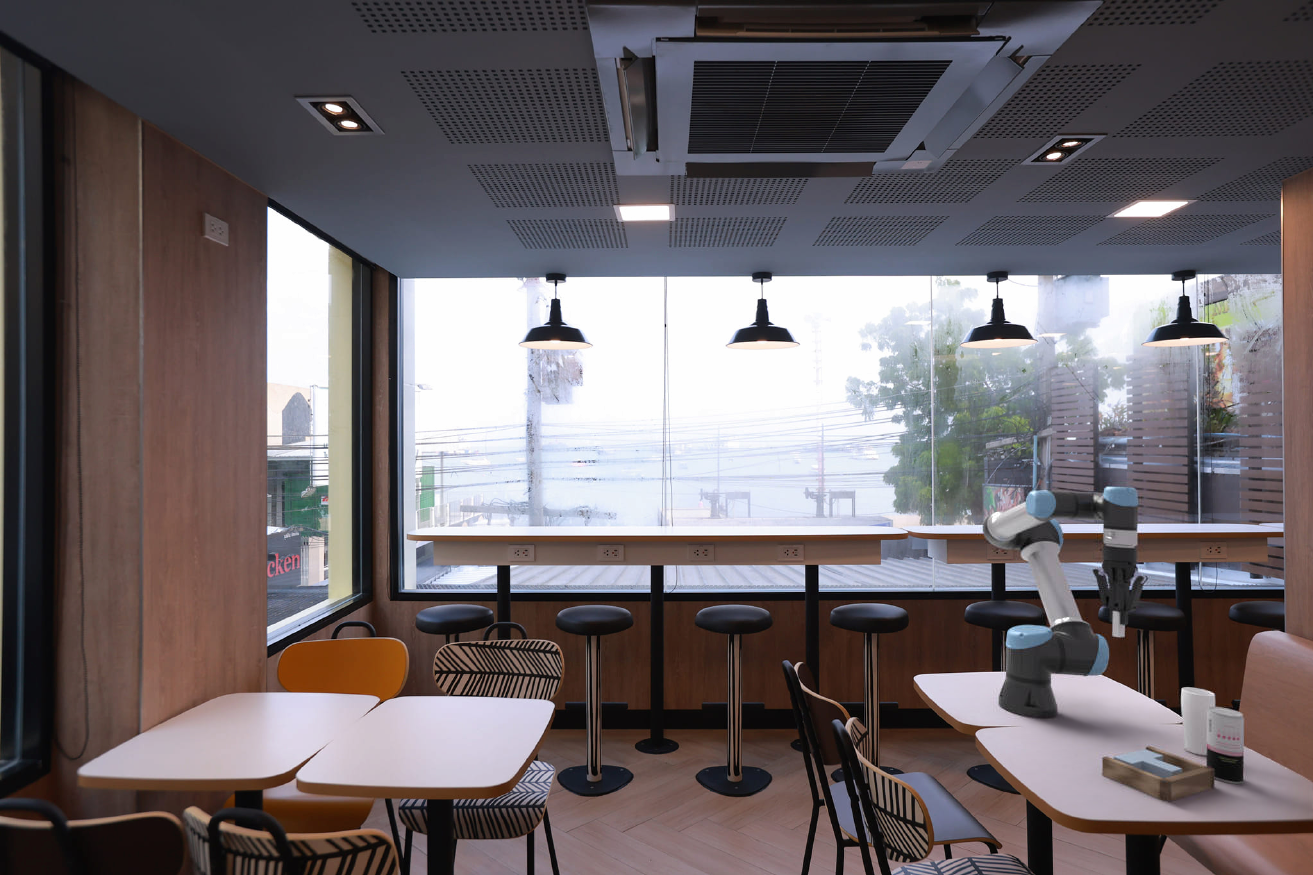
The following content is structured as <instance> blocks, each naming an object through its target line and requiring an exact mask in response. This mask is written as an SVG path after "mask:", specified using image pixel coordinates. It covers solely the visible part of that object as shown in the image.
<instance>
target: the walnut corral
mask: <svg viewBox="0 0 1313 875" xmlns="http://www.w3.org/2000/svg"><path fill="white" fill-rule="evenodd" d="M1145 750H1148V751H1151V752H1154V753H1157V754H1160V755H1163V762H1165V763H1168V764H1171V765H1174V766H1176V767H1179V768H1182V774H1178V775H1174V776H1171V777H1167V778H1161V777H1159V776H1156V775H1154V774H1151V773H1148V772H1146V771H1143V770H1141V769H1138V768H1136V767H1133V766H1130V765H1128V764H1125V763H1123V762H1120V761H1118V760H1115V759H1114V758H1112V757H1110V756H1102V767H1101V768H1102V770H1101V771H1102V772H1101V774H1102V776H1103V777H1106V778H1109V779H1110V780H1113V781H1116V782H1117V783H1121V784H1122V785H1126V786H1127V787H1130V788H1132V789H1135V790H1138V791H1140V792H1142V793H1144V794H1147V795H1149V796H1152V797H1155V798H1156V799H1159V800H1162V801H1164V802H1165V803H1169V802H1172V801H1175V800H1178V799H1181V798H1185V797H1188V796H1192V795H1195V794H1197V793H1202V792H1205V791H1207V790H1211V789H1214V788H1215V778H1214V775H1215V769H1212V768H1210V767H1207V765H1204V764H1201V763H1197V762H1196V761H1193V760H1189V759H1188V758H1184V757H1181V756H1179V755H1175V754H1173V753H1170V752H1167V751H1165V750H1161V749H1159V748H1156V747H1153V746H1150V745H1148V746H1145Z"/></svg>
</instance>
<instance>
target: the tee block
mask: <svg viewBox="0 0 1313 875" xmlns="http://www.w3.org/2000/svg"><path fill="white" fill-rule="evenodd" d="M1113 759H1115V760H1118V761H1120V762H1123V763H1125V764H1128V765H1130V766H1133V767H1136V768H1138V769H1141V770H1143V771H1146V772H1148V773H1151V774H1154V775H1156V776H1159V777H1161V778H1167V777H1171V776H1174V775H1178V774H1182V768H1179V767H1176V766H1174V765H1171V764H1168V763H1165V762H1163V755H1160V754H1157V753H1154V752H1151V751H1148V750H1146V748H1144V749H1141V750H1136V751H1132V752H1127V753H1124V754H1119V755H1116V756H1113Z"/></svg>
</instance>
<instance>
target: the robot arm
mask: <svg viewBox="0 0 1313 875" xmlns="http://www.w3.org/2000/svg"><path fill="white" fill-rule="evenodd" d="M1103 489H1104V490H1103V492H1097V491H1093V492H1092V491H1087V492H1083V491H1062V490H1061V491H1057V490H1046V489H1042V490H1031V491H1030V492H1028V494H1027V496H1026V498H1025V501H1024V502H1022V503H1020V504H1018V505H1016V506H1014V507H1011V508H1010V509H1008V510H1005V511H997V512H994V513H992V514H990V515H988V516H987V517H986V518H985V520H984V521H983V523H982V533H983V536H984V538H985V539H986V540H987V541H988V542H989V543H990V545H993V546H995V547H996V548H1000V549H1003V550H1012V551H1013V550H1016V551H1017V550H1018V552H1019V553H1020V557H1021V558H1022V560H1024V561H1026V562H1028V565H1029V568H1030V571H1031V573H1032V576H1033V578H1034V581H1035V584H1036V588H1037V591H1038V594H1039V597H1040V600H1041V603H1042V605H1043V608H1044V611H1045V613H1046V616H1047V620H1048V623H1049V625H1050V626H1049V627H1047V626H1045V625H1035V624H1022V625H1016V626H1013V627H1011V628H1009V629H1008V630H1007V633H1006V641H1005V647H1006V648H1005V680H1004V682H1003V683H1002V684H1003V685H1002V686H1001V689H1000V693H999V694H998V706H1000V707H1001V708H1002V709H1004V710H1006V711H1009V712H1011V713H1013V714H1017V715H1021V716H1026V717H1032V718H1054V717H1057V715H1058V713H1059V712H1058V711H1059V710H1058V709H1059V708H1058V707H1059V706H1058V703H1057V701H1056V700H1057V699H1056V696H1055V693H1054V691H1053V687H1052V675H1065V676H1070V675H1071V676H1083V677H1088V676H1092V677H1093V676H1094V677H1095V676H1096V677H1097V676H1100V675H1101V674H1103V673H1104V672H1105V671H1106V670H1107V668H1108V667H1107V666H1108V664H1109V661H1110V660H1109V659H1110V650H1109V644H1108V641H1107V640H1106V638H1105V637H1104V636H1103V635H1101V634H1099V633H1094V632H1093V631H1094V630H1093V628H1092V627H1091V624H1090V623H1089V622H1087V621H1084V620H1083V619H1082V616H1081V614H1080V611H1079V608H1078V606H1077V602H1076V600H1075V598H1074V595H1073V593H1072V590H1071V588H1070V585H1069V583H1068V580H1067V577H1066V574H1065V571H1064V569H1063V566H1062V565H1061V564H1062V563H1061V561H1060V559H1059V553H1060V552H1061V549H1062V547H1063V543H1064V537H1063V536H1064V533H1063V528H1062V527H1061V525H1060V523H1059V522H1058V521H1057V519H1067V520H1085V521H1087V520H1088V521H1089V520H1092V521H1093V520H1094V521H1102V522H1103V523H1102V524H1103V526H1102V528H1103V529H1102V530H1103V532H1102V536H1103V537H1102V539H1103V540H1102V542H1103V544H1105V545H1103V546H1102V559H1103V561H1102V563H1101V566H1100V567H1098V568H1093V569H1092V573H1093V574H1094V577H1095V578H1096V583H1097V587H1098V592H1099V596H1100V600H1101V605H1102V607H1106V608H1107V609H1109V622H1110V623H1112V637H1115V638H1125V636H1126V635H1125V633H1126V628H1125V627H1126V625H1128V624H1129V613H1130V612H1134V611H1137V608H1138V605H1139V602H1140V598H1141V595H1142V591H1143V588H1144V584H1145V583H1146V582H1147V581H1148V580H1149V577H1148V576H1147V575H1143V574H1142V573H1141V572H1140V571H1139V567H1138V566H1137V562H1138V548H1136V546H1138V523H1139V522H1138V521H1139V500H1138V499H1139V498H1138V497H1139V496H1138V490H1137V489H1136V488H1134V487H1127V486H1124V487H1123V486H1105V488H1103ZM1132 579H1133V580H1134V581H1133V583H1132ZM1131 583H1132V586H1131ZM1130 586H1131V589H1130Z"/></svg>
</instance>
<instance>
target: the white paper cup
mask: <svg viewBox="0 0 1313 875" xmlns="http://www.w3.org/2000/svg"><path fill="white" fill-rule="evenodd" d="M1180 693H1181V694H1180V707H1181V708H1180V709H1181V720H1182V733H1183V748H1184V750H1186V751H1187V752H1189V753H1191V754H1194V755H1197V754H1198V756H1207V711H1208V708H1209V707H1216V694H1215V693H1214V692H1212V691H1209V690H1206V689H1204V688H1202V689H1201V688H1199V687H1198V688H1197V687H1189V686H1188V687H1187V686H1186V687H1182V688H1181V692H1180Z"/></svg>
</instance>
